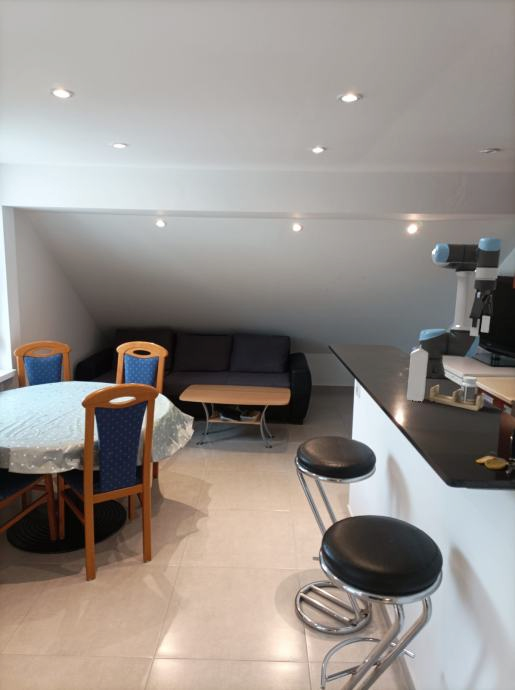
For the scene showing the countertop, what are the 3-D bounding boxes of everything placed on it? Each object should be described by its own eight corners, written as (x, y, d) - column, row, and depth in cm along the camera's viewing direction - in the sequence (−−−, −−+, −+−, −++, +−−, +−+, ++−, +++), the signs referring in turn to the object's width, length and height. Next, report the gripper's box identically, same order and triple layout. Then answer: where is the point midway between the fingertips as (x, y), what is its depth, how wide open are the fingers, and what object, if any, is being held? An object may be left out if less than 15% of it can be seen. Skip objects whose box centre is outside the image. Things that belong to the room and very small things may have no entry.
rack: (436, 396, 185) (437, 384, 184) (483, 406, 174) (484, 393, 173) (429, 400, 179) (430, 387, 178) (476, 410, 168) (478, 397, 167)
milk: (406, 400, 179) (410, 345, 176) (408, 396, 185) (413, 343, 181) (422, 402, 177) (427, 347, 173) (424, 398, 182) (429, 344, 178)
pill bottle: (477, 402, 174) (480, 377, 172) (473, 405, 170) (476, 380, 168) (461, 399, 178) (464, 375, 176) (457, 402, 173) (460, 377, 172)
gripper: (485, 278, 184) (479, 329, 188) (464, 279, 166) (458, 336, 170) (505, 279, 179) (498, 331, 183) (486, 280, 161) (479, 338, 165)
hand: (479, 334), depth 176 cm, fingers open, 13 cm apart
